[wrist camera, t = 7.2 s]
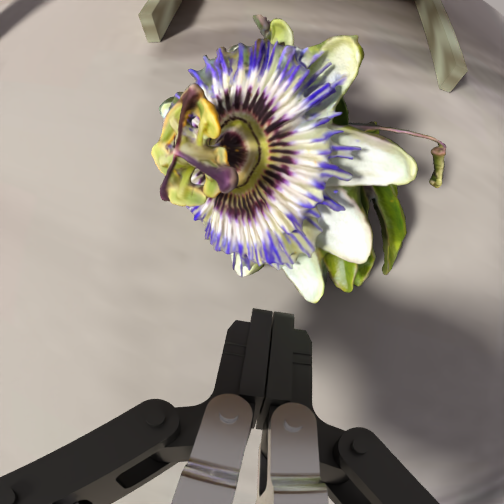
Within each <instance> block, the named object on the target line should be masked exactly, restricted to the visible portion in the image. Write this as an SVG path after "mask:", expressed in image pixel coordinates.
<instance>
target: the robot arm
mask: <svg viewBox="0 0 504 504" xmlns="http://www.w3.org/2000/svg"><path fill="white" fill-rule="evenodd" d="M272 314H273V317H272ZM256 420H257V423H256ZM255 424H256V429H261V430H262V439H261V443H260V446H259V452H258V479H257V498H256V503H255V504H328V496H329V498H330V499H331V500H332V501H333V502H334V503H335V504H439V503H438V502H437V501H436V499H435V498H434V497H433V496H432V495H431V494H430V493H429V492H428V491H427V490H426V489H425V488H424V487H423V486H422V485H421V484H420V483H419V482H418V481H417V479H416V478H415V477H414V476H413V475H412V474H411V473H410V472H409V471H408V470H407V469H406V468H405V467H404V466H403V465H402V463H401V462H400V461H399V460H398V459H397V458H396V457H395V456H394V455H393V454H392V453H391V452H390V450H389V449H388V448H387V447H386V446H385V445H384V444H383V443H382V442H381V441H380V440H379V438H378V437H377V436H376V435H375V434H374V433H373V432H371V431H370V430H368V429H365V428H361V427H356V428H351V429H349V430H347V431H344V430H341V429H339V428H336V427H333V426H331V425H328V424H326V423H325V422H323V421H322V420H321V419H319V418H318V416H317V415H316V414H315V412H314V410H313V406H312V342H311V340H310V338H309V336H308V334H307V332H306V331H305V330H298V329H294V314H288V313H281V312H274V313H273V312H272V311H267V310H261V309H255V308H253V310H252V316H251V322H244V321H239V320H236V321H235V322H234V323H233V324H232V325H231V327H230V328H229V329H228V331H227V335H226V340H225V344H224V348H223V353H222V357H221V362H220V366H219V371H218V375H217V379H216V384H215V388H214V391H213V393H212V395H211V396H210V398H209V399H208V400H206V401H205V402H203V403H201V404H199V405H196V406H189V407H176V408H175V407H174V406H173V405H171V404H170V403H169V402H167V401H164V400H161V399H150V400H146V401H144V402H142V403H140V404H139V405H137V406H135V407H134V408H132V409H130V410H128V411H127V412H125V413H123V414H122V415H120V416H118V417H116V418H115V419H113V420H111V421H109V422H108V423H106V424H104V425H102V426H100V427H99V428H97V429H95V430H93V431H91V432H90V433H88V434H86V435H84V436H82V437H80V438H78V439H77V440H75V441H73V442H71V443H69V444H67V445H65V446H63V447H61V448H59V449H58V450H56V451H54V452H52V453H50V454H48V455H46V456H44V457H42V458H40V459H38V460H36V461H34V462H32V463H30V464H28V465H25V466H23V467H21V468H19V469H17V470H15V471H13V472H11V473H8V474H6V475H4V476H2V477H0V504H111V503H113V502H115V501H117V500H118V499H120V498H122V497H124V496H125V495H127V494H129V493H131V492H132V491H134V490H136V489H137V488H139V487H141V486H142V485H144V484H145V483H147V482H149V481H150V480H152V479H153V478H155V477H157V476H158V475H160V474H161V473H163V472H164V471H166V470H167V469H169V468H170V467H172V466H173V465H175V464H176V463H178V462H184V461H188V463H187V465H185V467H184V469H183V471H182V473H181V476H180V479H179V482H178V485H177V488H176V491H175V494H174V497H173V500H172V503H171V504H232V503H233V499H234V495H235V491H236V487H237V482H238V477H239V472H240V468H241V464H242V460H243V456H244V451H245V447H246V444H247V441H248V438H249V435H250V432H251V429H252V428H253V429H254V427H255Z"/></svg>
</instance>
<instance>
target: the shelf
mask: <svg viewBox="0 0 504 504" xmlns="http://www.w3.org/2000/svg"><path fill="white" fill-rule="evenodd" d="M182 1H183V0H148V1H147V3H146V4H145V6H144V7H143V9H142V10H141V12H140V13H139V18H140V21H141V24H142V27H143V30H144V32H145V35H146V38H147V41H148V42H160V41H161V40H162V38H163V36H164V34H165V32H166V30H167V28H168V26H169V24H170V22H171V20H172V19H173V17H174V15H175V13H176V11H177V10H178V8H179V6H180V4H181V3H182ZM414 1H415V4H416V6H417V9H418V12H419V15H420V18H421V21H422V24H423V28H424V31H425V34H426V37H427V41H428V44H429V48H430V52H431V55H432V59H433V63H434V67H435V72H436V76H437V80H438V85H439V89H442V90H444V91H447V92H449V93H450V92H451V91H452V90H453V88H454V87H455V86H456V85H457V83H458V82H459V81H460V80H461V78H462V77H463V76H464V75H465V73H466V72H467V71H468V70H467V66H466V63H465V60H464V57H463V54H462V52H461V49H460V46H459V43H458V41H457V38H456V35H455V33H454V30H453V28H452V25H451V23H450V20H449V18H448V16H447V13H446V11H445V9H444V7H443V4H442V2H441V0H414Z"/></svg>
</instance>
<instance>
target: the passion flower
mask: <svg viewBox="0 0 504 504" xmlns="http://www.w3.org/2000/svg"><path fill="white" fill-rule="evenodd" d="M253 20H254V21H255V23H256V25H257V27H258V28H259V29H260V31H261V34H262V35H263V36H264V38H265V39H257V40H256V41H255V44H254V45H253V46H246V45H244V44H242V43H239V44H238V45H235V46H233V47H231V48H230V49H229V50H228V51H226V48H224V47H220V48H218V49H217V57H216V58H215V59H212V60H210V59H208V57H207V55H205V56H203V59H204V61H205V64H206V66H205V67H204V69H203V70H200V71H195V70H193V69H188V71H189V72H190V74H191V75H192V76H193V77H194V78H195V80H196V83H193V84H190V85H189V86H188V88H187V89H186V90H185V91H184V92H177V93H176V94H175V96H174V97H170V98H169V99H167V100H166V101H164V102H163V103H162V104H161V105H160V107H159V111H160V114H161V115H162V117H163V118H164V121H163V129H162V134H161V137H160V139H159V141H158V143H157V144H155V145H154V146H153V148H152V152H151V153H152V156H153V158H154V160H155V164H156V165H157V166H158V168H159V170H160V171H161V173H163V174H164V175H165V178H164V180H163V183H162V184H161V187H160V196H161V198H162V200H164V201H171V203H172V204H175V205H179V206H186V207H187V209H189V210H190V211H191V212H192V213H193V214H194V220H195V221H196V220H202V222H203V224H204V225H205V231H206V234H205V239H210V244H212V245H213V248H214V250H216V251H223V252H224V253H226V254H231V260H232V263H233V270H234V268H235V270H236V272H237V274H238V275H239V276H241V277H245V276H248V275H251V274H253V273H255V272H257V271H259V270H260V269H261V268H262V267H264V264H269V265H271V266H272V267H275V268H276V269H277V270H280V269H282V270H284V272H285V274H286V276H287V278H288V279H289V280H290V281H291V282H293V283H294V285H295V287H296V288H297V290H298V291H299V293H300V294H301V295H302V296H303V297H304V298H305V300H307V301H308V302H312V303H317V302H318V301H319V300H320V298H321V297H322V295H323V294H324V286H325V284H326V280H327V271H328V272H329V275H330V278H331V280H332V281H333V282H334V284H335V286H336V287H338V288H340V289H341V290H343V291H344V292H349V293H350V292H352V290H353V287H354V285H356V286H361V285H362V284H363V281H364V280H365V279H366V278H368V277H369V275H370V271H371V269H372V267H373V265H374V260H375V259H376V255H375V252H374V249H373V231H372V228H371V225H370V222H369V219H368V210H369V206H370V201H371V199H372V201H373V204H374V208H375V210H376V212H377V215H378V218H379V221H380V225H381V228H382V229H381V233H382V238H383V251H384V264H383V267H382V271H383V274H384V275H387V274H388V273H389V272H390V270H391V269H392V266H393V263H394V261H395V259H396V257H397V254H398V251H399V249H400V248H401V247H402V241H403V239H404V238H405V235H406V233H407V231H406V223H405V215H404V212H403V209H402V207H401V205H400V202H399V200H398V198H397V195H398V191H397V185H405V184H408V183H410V182H411V181H413V180H414V179H415V178H416V175H417V171H418V167H417V163H416V162H415V160H414V158H412V157H411V156H410V155H409V154H407V153H406V152H405V151H404V150H403V149H402V148H401V147H400V146H399V145H398V144H396V143H395V142H393V141H392V140H390V139H388V138H386V137H384V136H381V135H379V130H386V131H392V132H395V133H406V134H409V135H412V136H416V137H422V138H427V139H430V140H433V141H435V142H437V143H438V145H439V146H438V147H435V148H433V149H432V150H431V154H432V155H433V163H434V172H433V174H432V176H431V178H430V181H429V183H430V184H431V185H432V186H434V187H435V188H439V187H440V186H441V184H442V179H443V171H444V156H445V154H446V152H445V151H446V145H445V144H444V143H442V142H441V141H439V140H437V139H436V138H433V137H431V136H428V135H423V134H420V133H415V132H412V131H408V130H402V129H396V128H391V127H381V126H378V125H377V122H375V121H374V122H370V123H368V124H362V123H348V120H349V118H348V113H349V112H348V110H347V106H346V103H345V101H344V99H343V95H344V94H345V93H346V92H347V90H348V88H349V87H350V85H351V84H352V82H353V81H354V79H355V78H356V76H357V75H358V71H359V67H360V65H361V62H362V60H363V58H364V51H363V48H362V47H361V46H360V44H359V43H358V36H357V35H353V36H347V35H340V36H334V37H331V38H328V39H327V40H326V41H324V42H322V43H320V44H318V45H315V46H311V47H307V48H304V49H299V48H298V47H297V46H293V45H294V36H293V31H292V29H291V28H290V27H289V25H288V24H287V23H286V22H285V21H283V20H282V19H277V18H276V19H273V20H272V21H271V22H269V20H268V21H267V17H263V16H262V15H254V16H253Z"/></svg>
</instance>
